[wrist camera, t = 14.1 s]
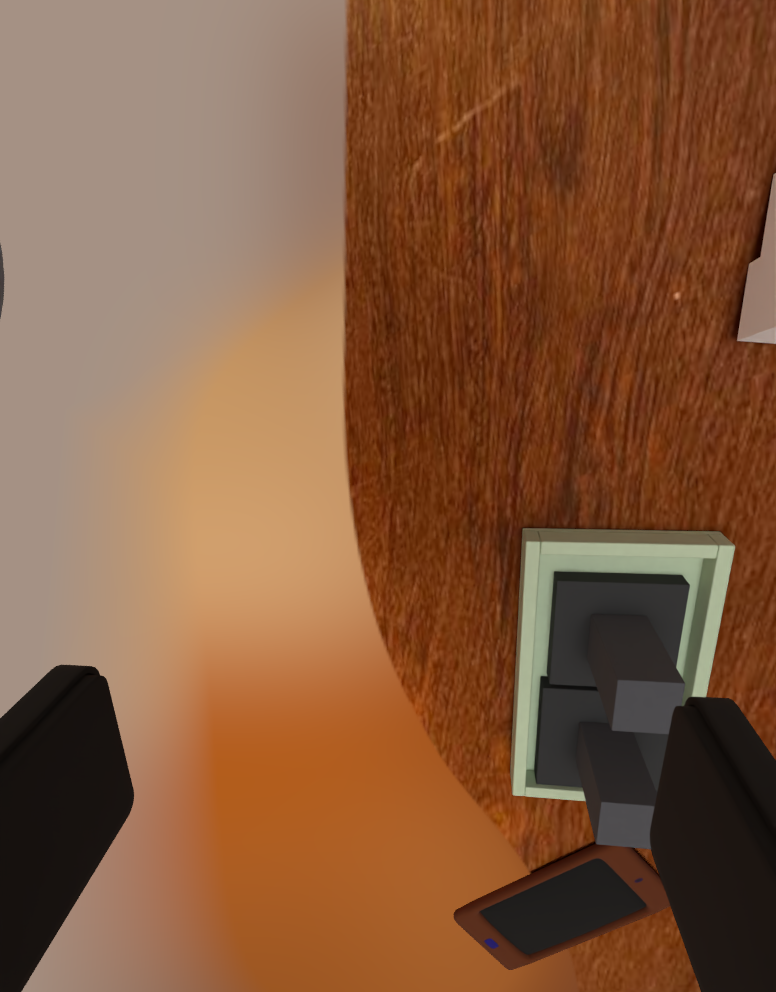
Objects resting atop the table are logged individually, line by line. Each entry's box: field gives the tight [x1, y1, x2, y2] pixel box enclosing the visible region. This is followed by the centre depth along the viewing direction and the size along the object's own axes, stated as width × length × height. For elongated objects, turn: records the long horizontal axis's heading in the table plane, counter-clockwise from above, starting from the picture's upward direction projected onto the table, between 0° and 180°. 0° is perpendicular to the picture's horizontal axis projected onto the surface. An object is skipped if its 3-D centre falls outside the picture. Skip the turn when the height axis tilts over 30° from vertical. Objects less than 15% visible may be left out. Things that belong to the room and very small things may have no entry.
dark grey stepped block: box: [547, 571, 690, 734], centre depth 29 cm, size 7×7×7 cm
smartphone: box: [454, 844, 670, 970], centre depth 41 cm, size 7×1×15 cm
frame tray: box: [510, 528, 735, 801], centre depth 33 cm, size 11×18×2 cm, turn 2°
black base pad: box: [534, 676, 669, 849], centre depth 32 cm, size 8×8×7 cm
